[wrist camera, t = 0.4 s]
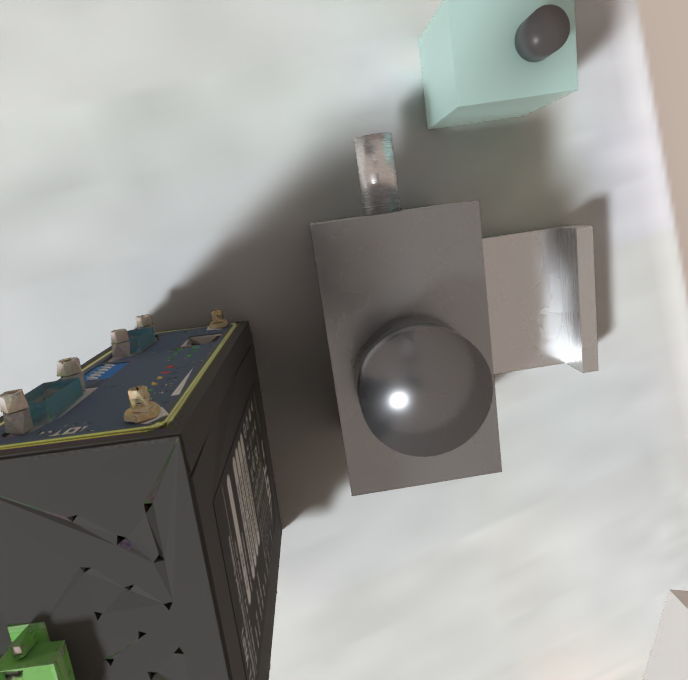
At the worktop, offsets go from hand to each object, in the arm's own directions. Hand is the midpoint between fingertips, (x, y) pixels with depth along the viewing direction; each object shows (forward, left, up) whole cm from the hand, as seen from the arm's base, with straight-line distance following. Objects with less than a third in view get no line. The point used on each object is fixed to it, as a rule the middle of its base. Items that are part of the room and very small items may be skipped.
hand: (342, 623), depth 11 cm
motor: (-2, +9, -26) cm, 27 cm away
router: (+6, -8, -26) cm, 28 cm away
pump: (-14, +12, -26) cm, 32 cm away
